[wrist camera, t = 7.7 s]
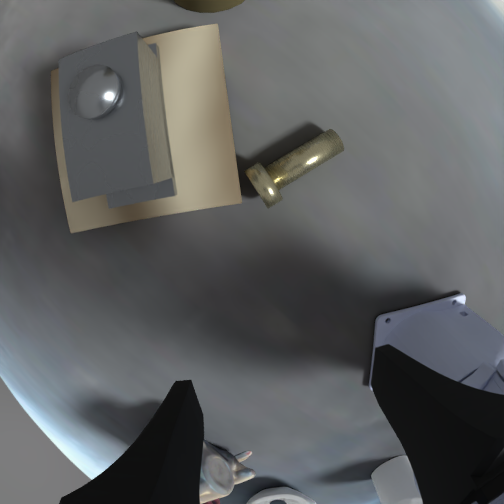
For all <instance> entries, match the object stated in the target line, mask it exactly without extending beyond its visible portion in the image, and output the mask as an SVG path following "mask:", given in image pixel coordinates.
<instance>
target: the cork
mask: <svg viewBox="0 0 504 504" xmlns="http://www.w3.org/2000/svg"><path fill="white" fill-rule="evenodd" d="M174 1H175V3H176V4H178V5H179V6H181V7H183V8H185V9H187V10H191V11H195V12H199V13H214V12H219V11H223V10H228V9H230V8H233V7H235V6H237V5H239V4H241V3H242V2H243V1H244V0H174Z"/></svg>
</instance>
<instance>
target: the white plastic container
mask: <svg viewBox="0 0 504 504" xmlns="http://www.w3.org/2000/svg"><path fill="white" fill-rule="evenodd" d="M371 478H372V481H373V483H374V486H375V488H376V491H377V494H378V496H379V499H380V502H381V504H423V501H422V498H421V495H420V494H419V492H418V490H417V488H416V485H415V482H414V475H413V470H412V467H411V464H410V462H409V459H408V457H407V456H406V455H401V456H398V457H395V458H393V459H391V460H389V461H387V462H385V463H383V464H381V465H380V466H379V467H377V468H376V469H375V470H374V472H373V473H372V475H371Z"/></svg>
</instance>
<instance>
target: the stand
mask: <svg viewBox="0 0 504 504" xmlns="http://www.w3.org/2000/svg"><path fill="white" fill-rule="evenodd" d="M142 39H143V40H144V41H145V43H146V44H147V45H149V44H153V43H156V44H157V45H158V47H159V52H160V64H161V74H162V84H163V93H164V102H165V111H166V119H167V126H168V134H169V141H170V148H171V155H172V162H173V169H174V175H175V182H176V188H177V195H176V196H172V197H166V198H161V199H155V200H150V201H145V202H140V203H135V204H130V205H125V206H120V207H115V208H111V209H109V208H108V203H107V197H106V194H104V195H100V196H96V197H92V198H88V199H84V200H80V201H76V202H72V198H71V193H70V187H69V181H68V175H67V169H66V162H65V154H64V146H63V137H62V127H61V115H60V99H59V68H57V69H55V70H52V71H51V99H52V116H53V129H54V139H55V148H56V156H57V164H58V171H59V177H60V183H61V189H62V194H63V200H64V205H65V210H66V215H67V219H68V224H69V228H70V232H71V233H76V232H80V231H85V230H90V229H95V228H100V227H105V226H110V225H115V224H120V223H125V222H130V221H136V220H141V219H147V218H152V217H158V216H164V215H169V214H175V213H181V212H187V211H194V210H200V209H206V208H213V207H219V206H226V205H233V204H240V203H242V199H241V191H240V184H239V177H238V170H237V162H236V155H235V148H234V141H233V133H232V126H231V119H230V111H229V104H228V96H227V89H226V82H225V74H224V67H223V59H222V52H221V45H220V37H219V30H218V24H211V25H204V26H198V27H192V28H187V29H182V30H177V31H172V32H167V33H163V34H158V35H154V36H150V37H146V38H142Z"/></svg>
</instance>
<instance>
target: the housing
mask: <svg viewBox="0 0 504 504" xmlns="http://www.w3.org/2000/svg"><path fill="white" fill-rule="evenodd" d="M59 99H60V115H61V127H62V137H63V146H64V154H65V162H66V169H67V175H68V181H69V187H70V193H71V198H72V202H76V201H80V200H84V199H88V198H92V197H96V196H100V195H104V194H106V197H107V203H108V208H109V209H111V208H115V207H120V206H125V205H130V204H135V203H140V202H145V201H150V200H155V199H161V198H166V197H172V196H176V195H177V188H176V182H175V175H174V169H173V162H172V155H171V148H170V141H169V134H168V126H167V119H166V111H165V102H164V93H163V84H162V74H161V64H160V52H159V47H158V45H157V44H156V43H153V44H149V45H147V44H146V43H145V41H144V40H143V39H142V37H141V36H140V35H139V34H138V32H134V33H130V34H127V35H124V36H120V37H117V38H114V39H111V40H108V41H105V42H102V43H99V44H96V45H94V46H91V47H88V48H86V49H83V50H81V51H78V52H76V53H73V54H71V55H68V56H66V57H64V58H61V59H59Z"/></svg>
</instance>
